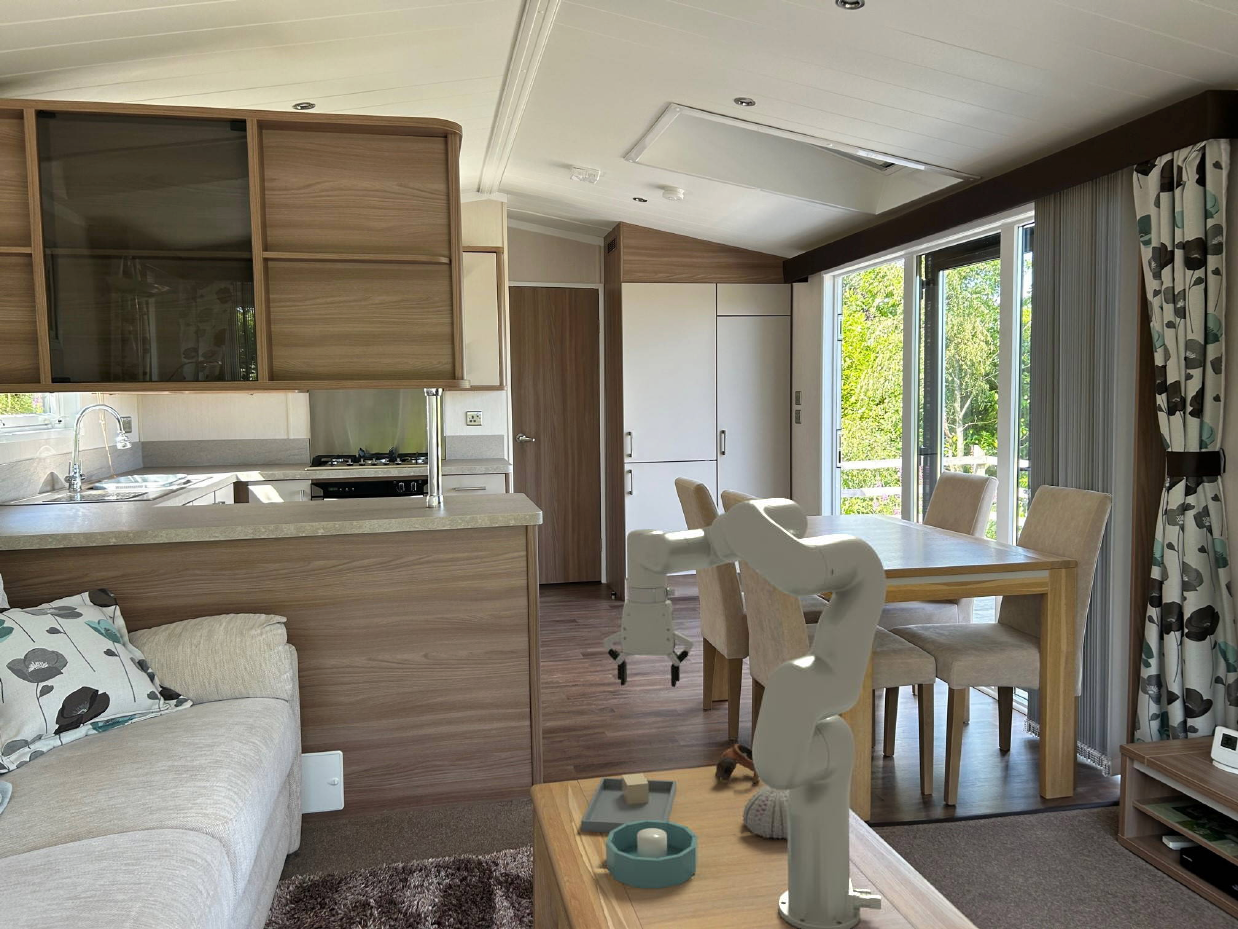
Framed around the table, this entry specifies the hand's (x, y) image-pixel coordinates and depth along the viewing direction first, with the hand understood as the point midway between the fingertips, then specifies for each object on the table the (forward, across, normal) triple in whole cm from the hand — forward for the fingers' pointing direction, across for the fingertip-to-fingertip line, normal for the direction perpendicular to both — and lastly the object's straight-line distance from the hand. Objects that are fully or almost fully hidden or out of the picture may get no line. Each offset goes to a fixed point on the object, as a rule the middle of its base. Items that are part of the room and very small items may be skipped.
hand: (648, 684), depth 172 cm
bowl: (+28, -2, +14) cm, 32 cm away
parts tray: (+28, +5, -8) cm, 30 cm away
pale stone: (+28, -2, +14) cm, 31 cm away
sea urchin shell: (+29, -24, -4) cm, 38 cm away
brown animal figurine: (+29, -15, -28) cm, 43 cm away
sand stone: (+28, +5, -14) cm, 31 cm away
